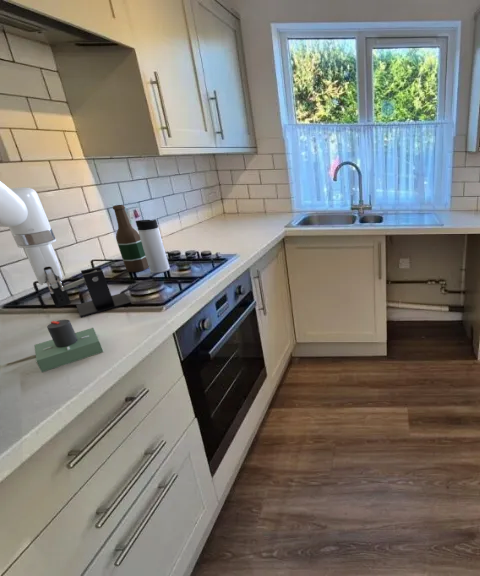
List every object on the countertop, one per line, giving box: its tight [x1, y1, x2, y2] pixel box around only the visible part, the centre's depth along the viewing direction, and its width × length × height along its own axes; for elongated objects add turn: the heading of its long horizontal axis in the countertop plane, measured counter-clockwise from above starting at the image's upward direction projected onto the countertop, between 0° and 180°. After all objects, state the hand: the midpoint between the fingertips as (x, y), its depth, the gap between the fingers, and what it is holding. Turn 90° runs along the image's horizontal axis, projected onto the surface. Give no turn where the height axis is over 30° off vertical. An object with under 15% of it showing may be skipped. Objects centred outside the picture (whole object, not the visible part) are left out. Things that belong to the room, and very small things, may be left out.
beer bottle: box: [112, 204, 150, 273], centre depth 133 cm, size 8×8×24 cm
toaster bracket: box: [75, 266, 132, 319], centre depth 104 cm, size 12×10×12 cm
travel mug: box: [135, 219, 171, 274], centre depth 129 cm, size 6×7×20 cm
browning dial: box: [46, 319, 78, 347], centre depth 82 cm, size 4×4×5 cm
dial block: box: [34, 327, 104, 373], centre depth 84 cm, size 11×9×3 cm
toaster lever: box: [63, 270, 97, 291], centre depth 100 cm, size 11×6×2 cm, turn 133°
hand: (62, 300), depth 99 cm, fingers closed on toaster lever, 6 cm apart
